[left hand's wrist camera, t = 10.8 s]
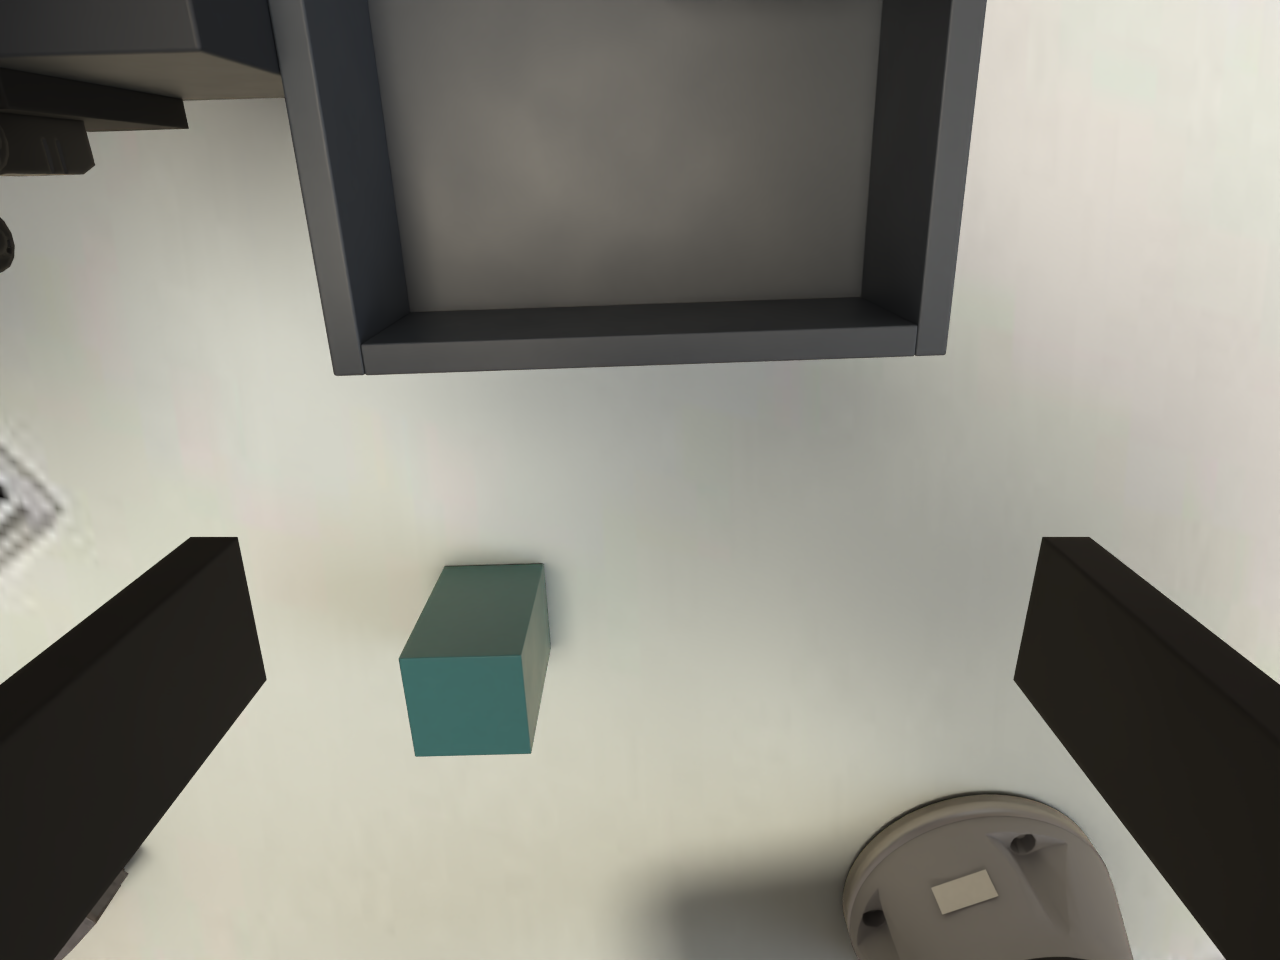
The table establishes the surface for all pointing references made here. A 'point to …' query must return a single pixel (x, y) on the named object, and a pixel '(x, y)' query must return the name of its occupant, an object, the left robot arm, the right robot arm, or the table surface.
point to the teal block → (478, 661)
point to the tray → (585, 165)
